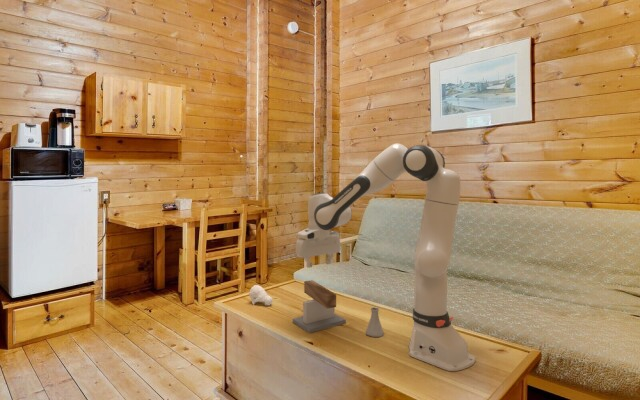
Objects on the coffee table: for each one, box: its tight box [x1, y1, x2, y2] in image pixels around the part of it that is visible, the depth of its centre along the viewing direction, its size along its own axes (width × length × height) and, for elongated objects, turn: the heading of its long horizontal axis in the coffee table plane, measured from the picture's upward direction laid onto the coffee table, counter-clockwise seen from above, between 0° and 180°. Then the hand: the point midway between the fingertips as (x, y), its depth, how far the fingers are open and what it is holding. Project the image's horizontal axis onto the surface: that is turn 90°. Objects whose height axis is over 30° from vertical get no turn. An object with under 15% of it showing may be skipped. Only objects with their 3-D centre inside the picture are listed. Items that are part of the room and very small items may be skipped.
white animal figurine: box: [248, 284, 274, 306], centre depth 183 cm, size 6×8×12 cm
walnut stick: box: [303, 279, 337, 309], centre depth 159 cm, size 4×22×5 cm, turn 26°
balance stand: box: [292, 298, 347, 334], centre depth 160 cm, size 13×18×10 cm
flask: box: [365, 306, 385, 338], centre depth 149 cm, size 7×7×10 cm
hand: (319, 265), depth 159 cm, fingers open, 8 cm apart
